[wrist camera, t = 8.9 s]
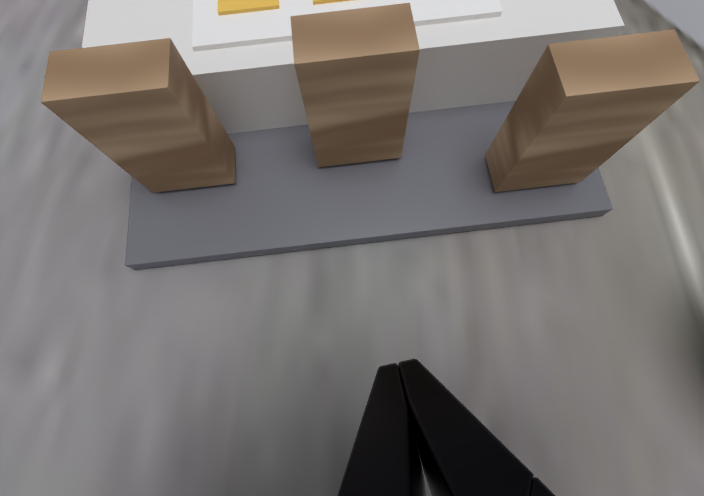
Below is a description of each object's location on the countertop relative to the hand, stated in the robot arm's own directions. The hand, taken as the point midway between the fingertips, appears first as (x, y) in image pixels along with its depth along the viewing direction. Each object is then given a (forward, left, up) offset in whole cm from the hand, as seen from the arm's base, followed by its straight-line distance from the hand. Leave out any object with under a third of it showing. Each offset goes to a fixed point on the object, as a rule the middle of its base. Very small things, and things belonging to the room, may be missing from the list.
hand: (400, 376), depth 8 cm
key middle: (+11, -8, -11) cm, 17 cm away
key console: (+13, -10, -12) cm, 20 cm away
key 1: (+2, -14, -11) cm, 18 cm away
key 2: (+16, +1, -11) cm, 19 cm away
